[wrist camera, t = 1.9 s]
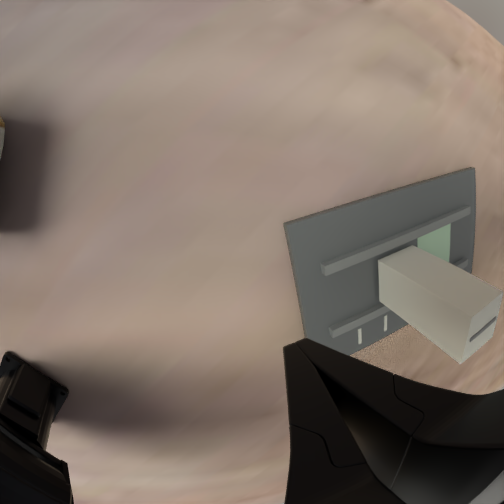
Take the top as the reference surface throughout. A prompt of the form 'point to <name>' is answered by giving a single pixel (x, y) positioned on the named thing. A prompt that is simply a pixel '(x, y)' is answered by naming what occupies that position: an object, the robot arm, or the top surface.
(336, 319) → the fader console
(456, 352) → the fader knob
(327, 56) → the top surface
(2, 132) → the ceramic mug
